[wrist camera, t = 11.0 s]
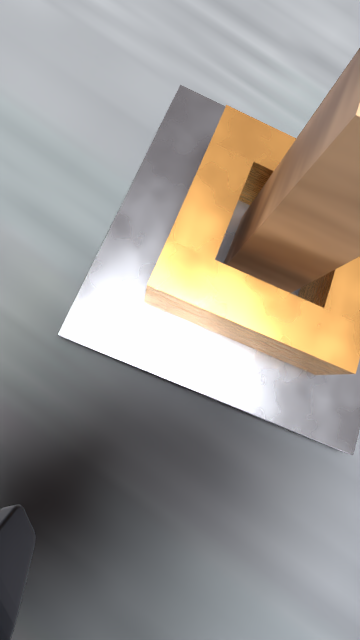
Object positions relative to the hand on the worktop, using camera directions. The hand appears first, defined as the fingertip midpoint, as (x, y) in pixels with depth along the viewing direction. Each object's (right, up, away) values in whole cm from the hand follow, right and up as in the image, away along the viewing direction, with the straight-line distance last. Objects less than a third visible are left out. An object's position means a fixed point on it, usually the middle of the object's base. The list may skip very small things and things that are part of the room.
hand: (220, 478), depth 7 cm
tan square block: (+4, +7, +13) cm, 15 cm away
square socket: (+4, +7, +14) cm, 16 cm away
